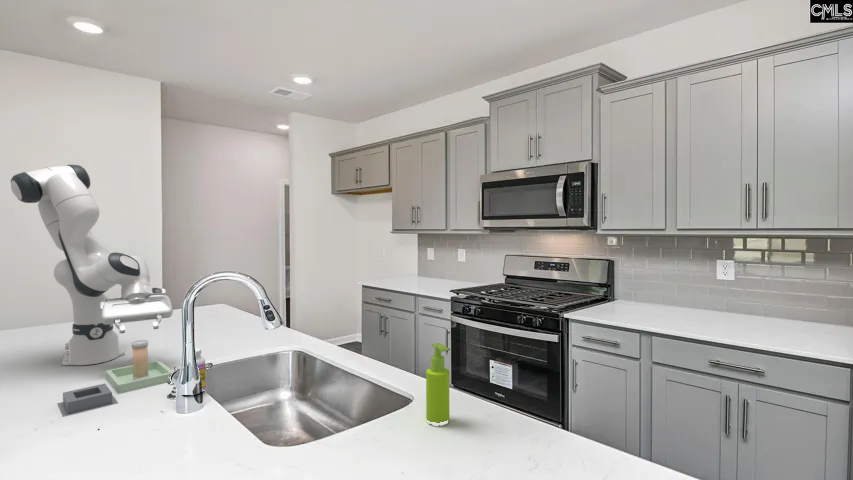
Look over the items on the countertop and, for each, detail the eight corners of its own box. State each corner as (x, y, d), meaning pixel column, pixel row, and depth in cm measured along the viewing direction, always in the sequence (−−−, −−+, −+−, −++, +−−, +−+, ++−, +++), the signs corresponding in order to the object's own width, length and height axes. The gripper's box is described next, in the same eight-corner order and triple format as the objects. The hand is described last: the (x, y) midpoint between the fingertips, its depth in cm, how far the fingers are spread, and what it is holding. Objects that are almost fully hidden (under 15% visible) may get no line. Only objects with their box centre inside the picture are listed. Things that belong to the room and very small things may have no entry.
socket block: (57, 406, 123) (56, 392, 122) (109, 394, 131) (109, 381, 131) (63, 420, 114) (62, 405, 114) (118, 406, 123) (118, 392, 123)
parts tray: (106, 381, 142) (105, 370, 142) (159, 369, 153) (158, 359, 153) (118, 396, 129) (118, 385, 129) (175, 383, 140) (175, 372, 140)
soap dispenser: (435, 430, 108) (435, 349, 107) (422, 419, 114) (422, 342, 114) (455, 425, 111) (455, 346, 110) (442, 414, 117) (442, 339, 116)
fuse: (131, 379, 141) (129, 341, 141) (147, 375, 144) (146, 339, 144) (134, 382, 138) (133, 344, 137) (150, 379, 141) (149, 341, 141)
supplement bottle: (195, 397, 129) (194, 354, 128) (175, 395, 130) (174, 352, 130) (210, 389, 135) (209, 347, 135) (191, 387, 137) (190, 346, 136)
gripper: (99, 294, 146) (100, 329, 139) (170, 288, 158) (174, 320, 151) (99, 305, 150) (100, 340, 143) (169, 299, 162) (173, 331, 155)
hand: (139, 330), depth 147 cm, fingers open, 8 cm apart
